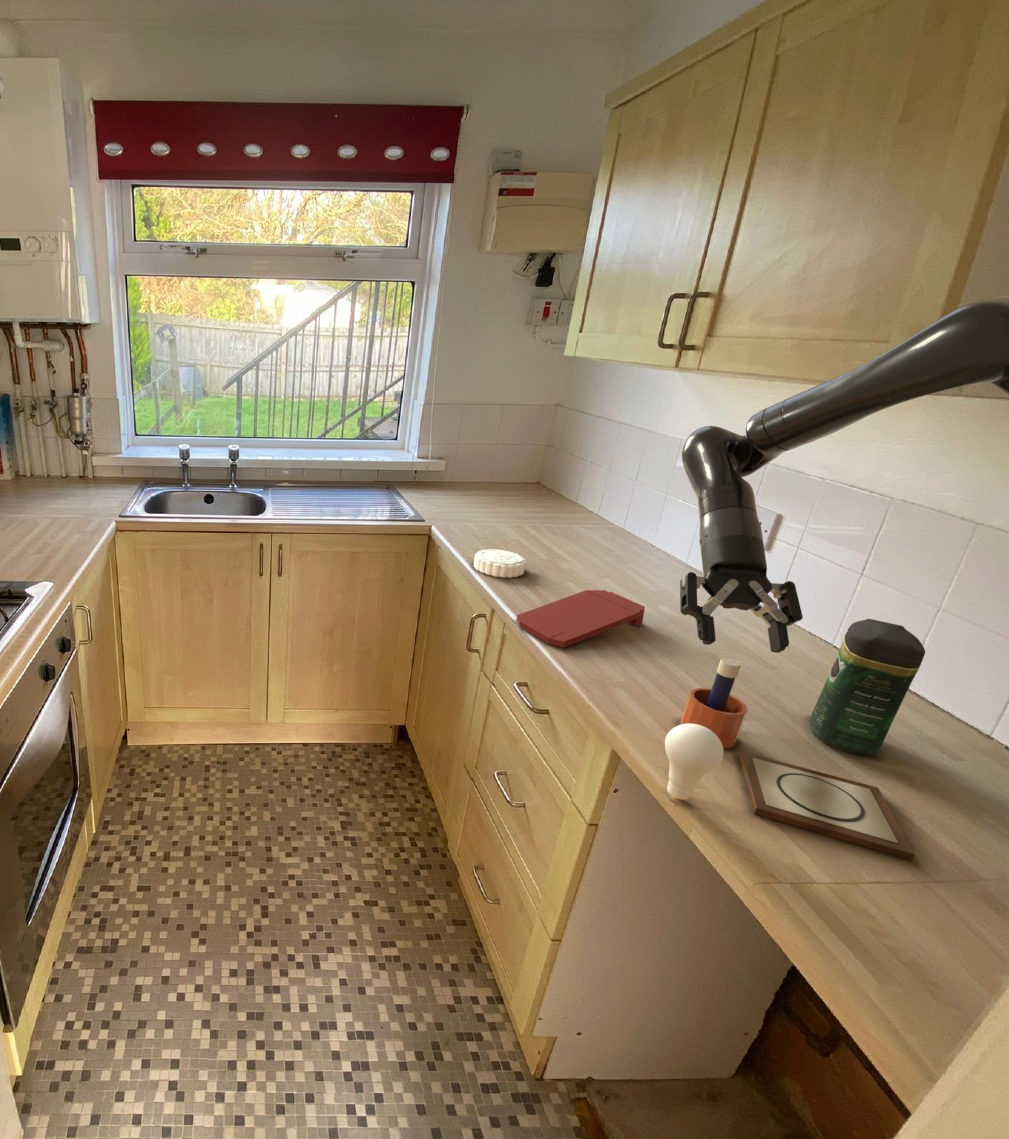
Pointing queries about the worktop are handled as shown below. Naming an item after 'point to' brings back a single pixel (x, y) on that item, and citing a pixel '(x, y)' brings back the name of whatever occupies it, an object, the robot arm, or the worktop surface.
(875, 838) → the picture frame
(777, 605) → the robot arm
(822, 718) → the coffee jar
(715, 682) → the cylinder
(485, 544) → the worktop surface
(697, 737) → the lightbulb
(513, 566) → the mooncake
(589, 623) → the red flat slab
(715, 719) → the pen pot
